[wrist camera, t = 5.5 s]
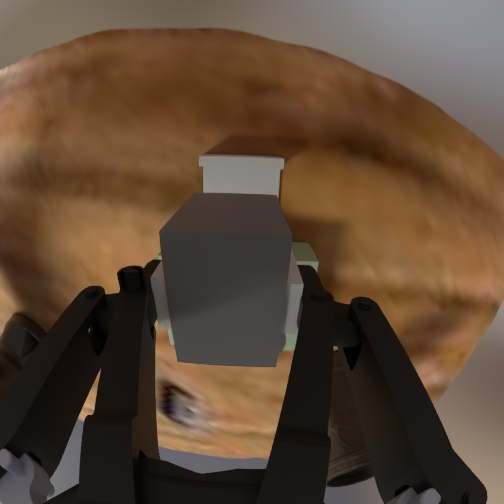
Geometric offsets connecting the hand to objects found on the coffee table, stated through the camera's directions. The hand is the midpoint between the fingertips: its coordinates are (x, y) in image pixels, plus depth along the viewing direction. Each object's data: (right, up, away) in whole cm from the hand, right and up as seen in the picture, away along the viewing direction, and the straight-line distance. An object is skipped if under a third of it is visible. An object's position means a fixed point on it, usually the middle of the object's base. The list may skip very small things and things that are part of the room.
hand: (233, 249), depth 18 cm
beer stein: (+17, -19, +23) cm, 34 cm away
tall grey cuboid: (0, 0, 0) cm, 0 cm away
